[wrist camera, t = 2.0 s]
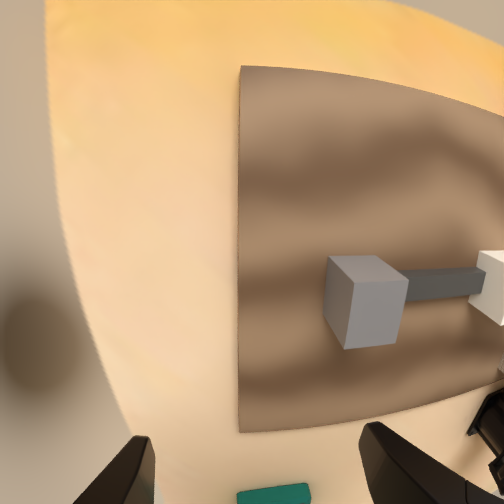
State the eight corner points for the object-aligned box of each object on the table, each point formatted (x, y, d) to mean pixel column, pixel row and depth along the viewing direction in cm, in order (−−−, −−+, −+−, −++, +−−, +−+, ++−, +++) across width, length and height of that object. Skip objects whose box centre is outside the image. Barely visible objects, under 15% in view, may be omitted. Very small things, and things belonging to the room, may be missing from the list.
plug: (519, 294, 21) (548, 312, 17) (322, 316, 19) (343, 352, 15) (529, 250, 20) (561, 265, 16) (328, 252, 18) (354, 278, 14)
